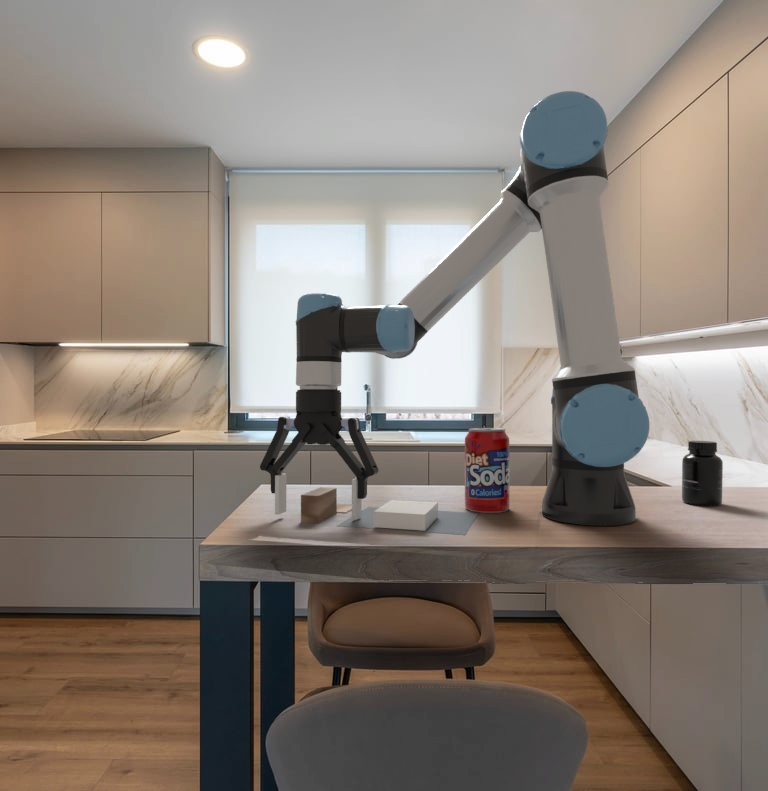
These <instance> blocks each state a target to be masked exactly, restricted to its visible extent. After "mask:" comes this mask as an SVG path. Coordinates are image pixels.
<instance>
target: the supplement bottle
mask: <svg viewBox="0 0 768 791" xmlns="http://www.w3.org/2000/svg"><path fill="white" fill-rule="evenodd" d="M687 443H688V445H687V446H688V448H687V450H688V451H689V453H687V454H685V455H684V456H683V458H682V459H681V460H682V464H681V465H682V466H681V467H682V468H681V470H682V471H681V473H682V474H681V499H682V502H683V503H685V504H687V503H689V504H688V505H691V504H693V505H692V506H697V505H699V506H698V507H719V505H720V506H721V505H722V503H723V472H724V471H723V469H724V468H723V467H724V466H723V465H724V464H723V460H722V459H721V457H719V456H718V455H717V454H716V453H717V452H718V443H717V442H716V441H710V440H688V442H687Z"/></svg>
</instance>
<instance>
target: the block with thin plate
mask: <svg viewBox="0 0 768 791" xmlns="http://www.w3.org/2000/svg"><path fill="white" fill-rule="evenodd" d="M337 493H338V491H337V487H317V488H315V489H313V490H309V491H308V492H305V493H303V494H301V495H300V523H303V524H304V523H305V524H306V523H308V524H320V523H322V522H324V521H326V520H327V519H330V518H331V517H333V516H335V515H336V514H347V513H349V512H352V503H351V504H348V503H337V496H338V495H337Z"/></svg>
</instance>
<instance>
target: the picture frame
mask: <svg viewBox="0 0 768 791" xmlns="http://www.w3.org/2000/svg"><path fill="white" fill-rule="evenodd" d="M438 511H439V502H436V501H434V502H433V501H417V500H400V499H399V500H398V499H397V500H395V499H390V500H389V501H387V502H386V503H384V504H383V505H382V506H380V508H378V509H377V510H375V511H374V527H378V528H393V529H407V530H423V531H425V530H426V529H427V528H428V527H429V526H430V525H431V524H432V523H433V522H434V521H435V520H436V518H437V517H438Z"/></svg>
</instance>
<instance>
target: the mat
mask: <svg viewBox="0 0 768 791" xmlns="http://www.w3.org/2000/svg"><path fill="white" fill-rule="evenodd" d="M380 507H381V506H380ZM380 507H379V506H378V507H377V506H367V507H365V508H364V509H361V517H360V518H359V519H357V520H352V516H350V517H348V518H347V519H346V520H344V521H343V522H341V523H339V524H337V525H336V527H342V528H356V529H357V528H358V529H373V530H385V531H399V532H400V531H401V532H412V533H413V532H417V533H429V534H431V533H432V534H443V535H457V536H460V535H461V536H466V535H467V533H468V532H469V530H470V528H471V526H472V525H473V524H474V522H475V520H476V518H477V517H478V515H479V514H480V513H478V512H471V511H469V512H468V511H467V512H466V511H452V510H438V517H437V518H436V520H435V521H434V522H433V523H432V524H431V525H430V526H429V527H428V528H427V529H426V530H425V531H423V530H407V529H393V528H378V527H374V511H375V510H377V509H378V508H380Z"/></svg>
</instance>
